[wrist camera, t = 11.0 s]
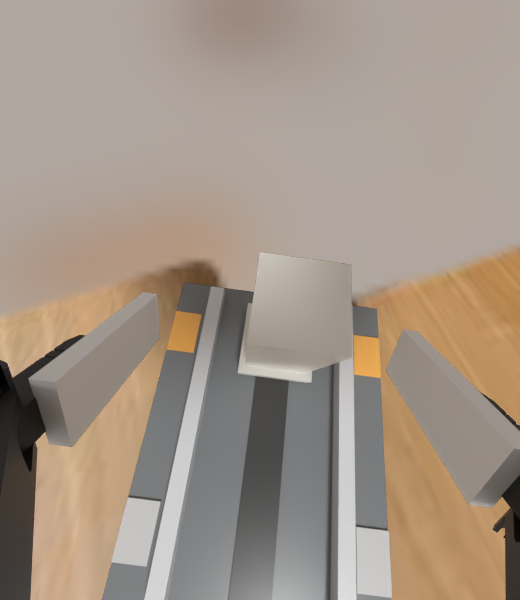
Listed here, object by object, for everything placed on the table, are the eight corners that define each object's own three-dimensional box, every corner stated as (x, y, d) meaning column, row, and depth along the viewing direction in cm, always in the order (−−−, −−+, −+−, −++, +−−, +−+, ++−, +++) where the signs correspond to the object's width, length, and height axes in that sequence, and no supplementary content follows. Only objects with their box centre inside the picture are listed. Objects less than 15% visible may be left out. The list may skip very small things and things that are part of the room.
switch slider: (310, 316, 19) (362, 256, 11) (307, 383, 18) (365, 373, 9) (247, 308, 19) (249, 240, 11) (238, 373, 18) (231, 355, 9)
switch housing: (360, 318, 23) (384, 303, 19) (368, 613, 16) (408, 684, 12) (191, 296, 23) (180, 276, 19) (122, 581, 16) (82, 643, 12)
